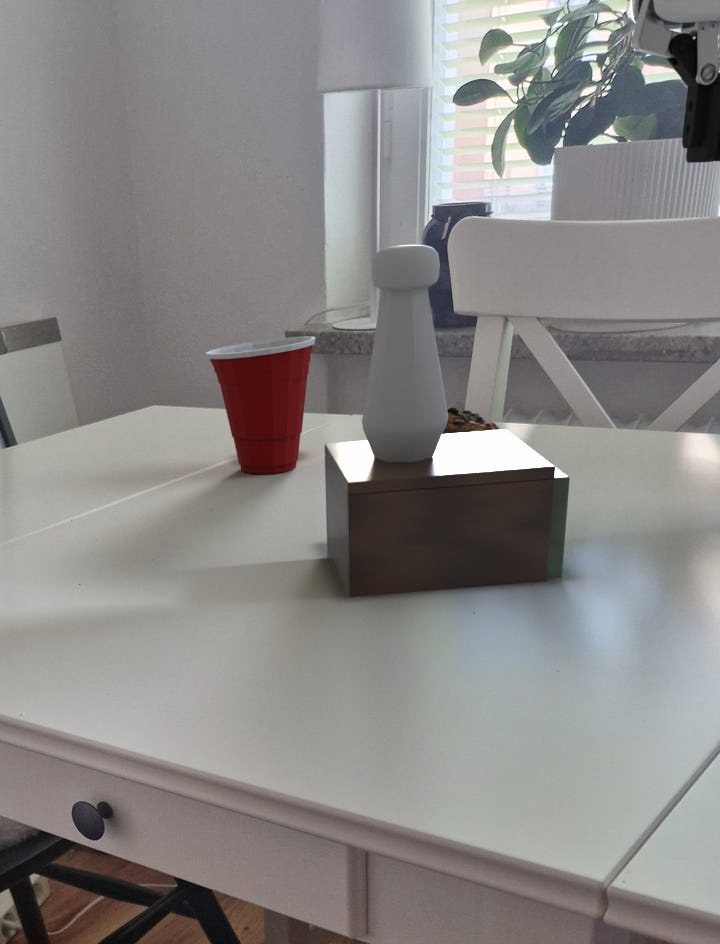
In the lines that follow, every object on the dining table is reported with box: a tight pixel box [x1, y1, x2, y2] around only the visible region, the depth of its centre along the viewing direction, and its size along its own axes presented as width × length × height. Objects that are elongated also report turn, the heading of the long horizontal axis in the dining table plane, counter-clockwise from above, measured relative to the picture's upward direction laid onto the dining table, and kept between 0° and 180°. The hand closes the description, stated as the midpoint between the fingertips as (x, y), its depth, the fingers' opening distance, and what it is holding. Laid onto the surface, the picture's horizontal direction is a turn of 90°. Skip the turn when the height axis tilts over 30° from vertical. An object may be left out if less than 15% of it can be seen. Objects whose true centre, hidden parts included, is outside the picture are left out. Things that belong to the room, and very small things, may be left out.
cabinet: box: [324, 429, 556, 598], centre depth 83 cm, size 14×13×9 cm
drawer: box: [547, 466, 571, 579], centre depth 83 cm, size 14×11×7 cm
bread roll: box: [442, 406, 501, 434], centre depth 119 cm, size 11×11×5 cm
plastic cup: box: [205, 335, 316, 475], centre depth 115 cm, size 11×11×12 cm
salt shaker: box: [361, 244, 448, 462], centre depth 77 cm, size 6×6×13 cm
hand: (707, 160), depth 73 cm, fingers closed
